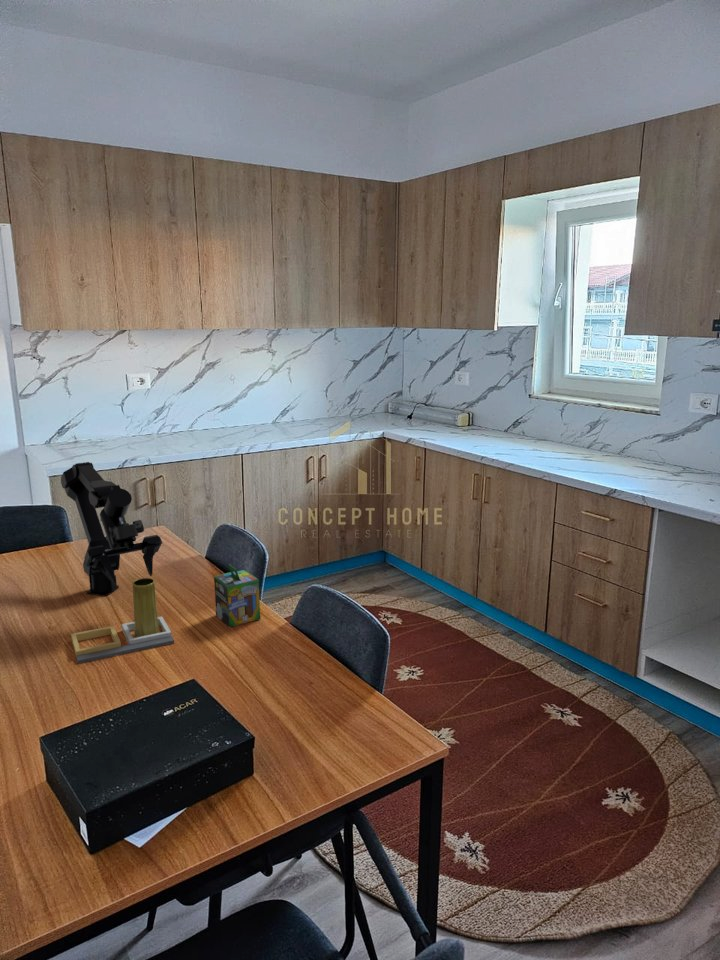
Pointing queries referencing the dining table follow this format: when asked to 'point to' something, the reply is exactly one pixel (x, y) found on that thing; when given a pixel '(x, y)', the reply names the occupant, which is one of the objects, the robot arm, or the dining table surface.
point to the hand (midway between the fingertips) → (133, 579)
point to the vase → (144, 607)
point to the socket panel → (115, 646)
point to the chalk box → (237, 597)
